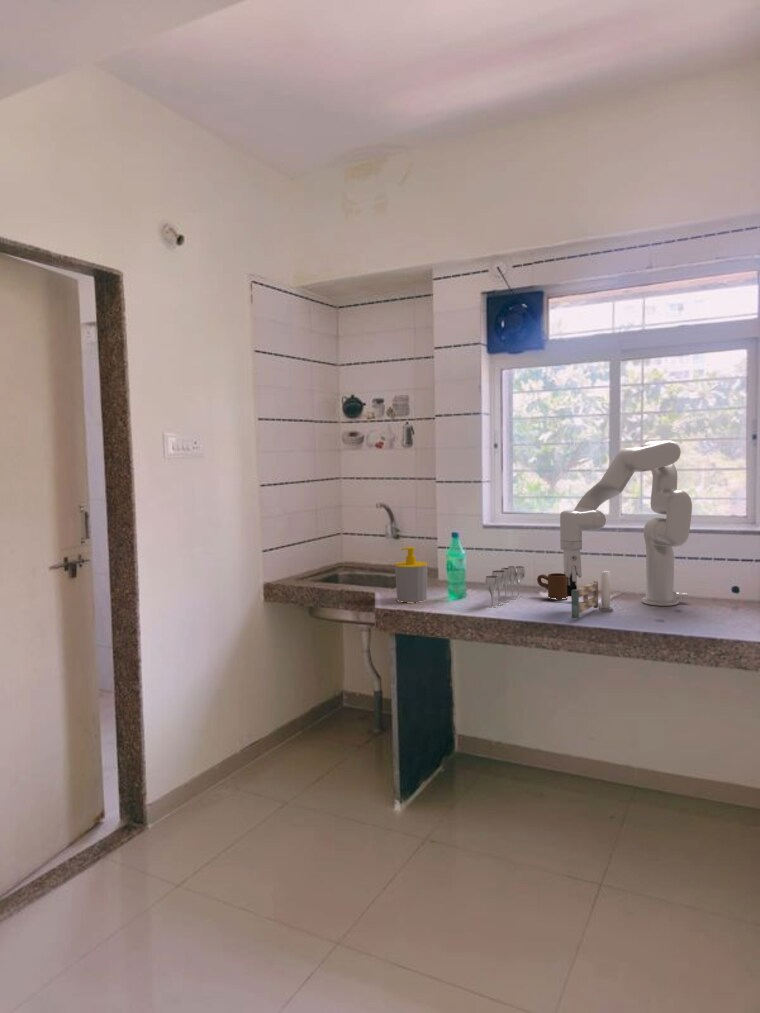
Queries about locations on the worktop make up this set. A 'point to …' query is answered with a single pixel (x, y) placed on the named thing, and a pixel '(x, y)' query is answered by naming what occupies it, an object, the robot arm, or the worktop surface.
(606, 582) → the gate post
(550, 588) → the mug
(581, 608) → the gate
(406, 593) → the soap bottle
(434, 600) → the worktop surface
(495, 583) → the goblet set
